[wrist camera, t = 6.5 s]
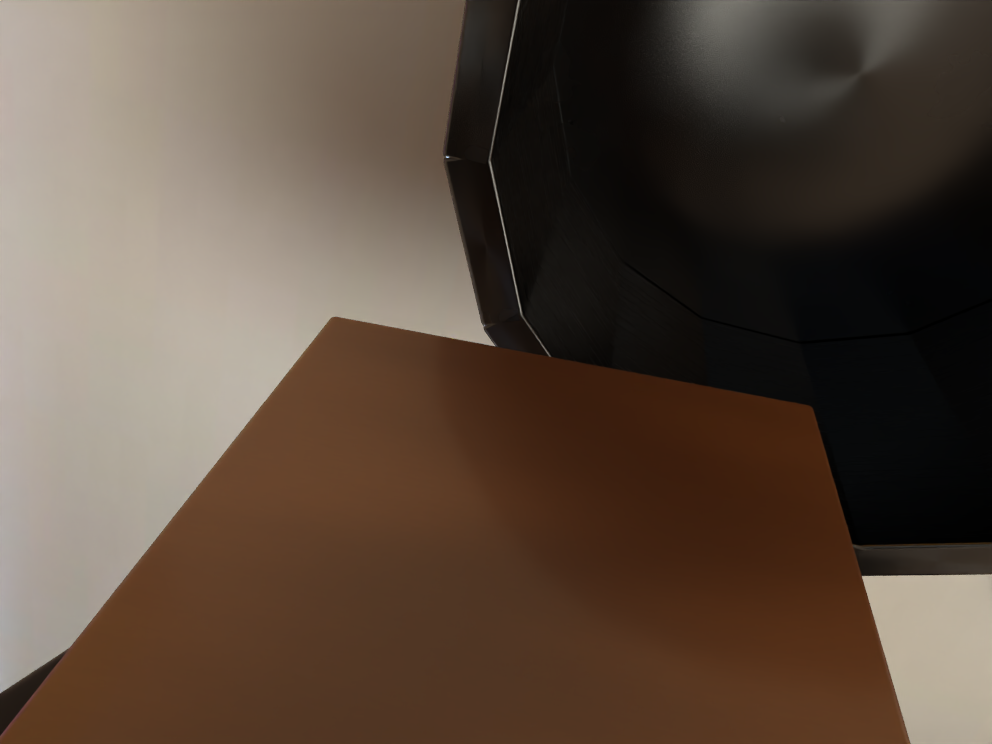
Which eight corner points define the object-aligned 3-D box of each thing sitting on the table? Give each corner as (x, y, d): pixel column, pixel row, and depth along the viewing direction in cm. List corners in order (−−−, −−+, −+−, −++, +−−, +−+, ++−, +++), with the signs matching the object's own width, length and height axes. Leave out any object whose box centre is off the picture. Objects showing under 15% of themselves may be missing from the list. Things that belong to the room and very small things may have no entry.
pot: (1446, -30, 13) (2133, 34, 7) (846, 444, 20) (928, 688, 14) (867, -605, 11) (1119, -1232, 5) (420, 142, 18) (291, 270, 12)
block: (813, 403, 8) (993, 1011, 4) (692, 708, 10) (712, 1260, 6) (331, 313, 8) (-18, 751, 4) (334, 627, 11) (126, 1086, 7)
